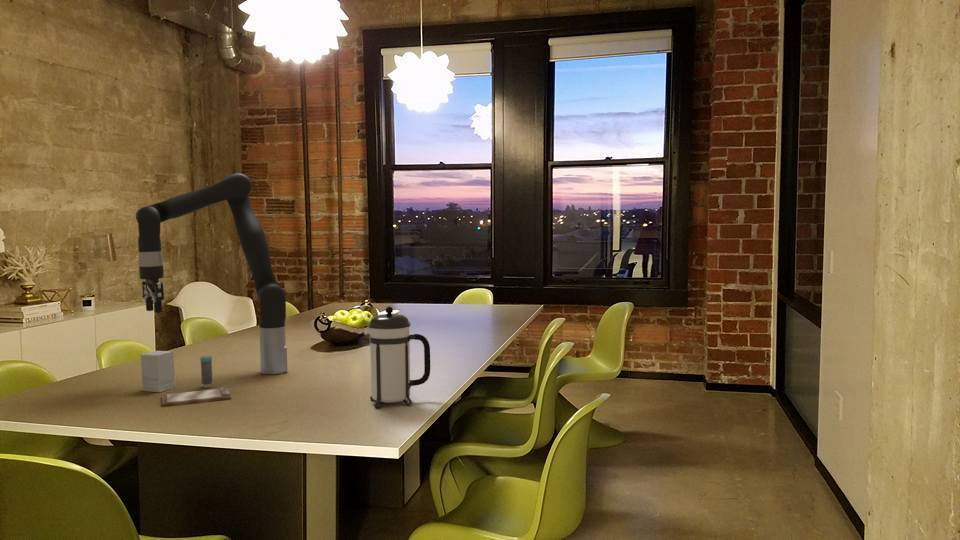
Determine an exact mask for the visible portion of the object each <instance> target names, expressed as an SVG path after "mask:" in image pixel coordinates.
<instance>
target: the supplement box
mask: <svg viewBox="0 0 960 540" xmlns="http://www.w3.org/2000/svg"><path fill="white" fill-rule="evenodd" d="M174 361H175V358H174V351H169V350H167V351H166V350H155V351H150V352H146V353H142V354H140V363H141V380H142V381H141V382H142V383H141V384H142V386H141V387H142V392H151V393H152V392H153V393H161V392H165V391H169V390H172V389H175V388H176V382H175V362H174Z"/></svg>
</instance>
